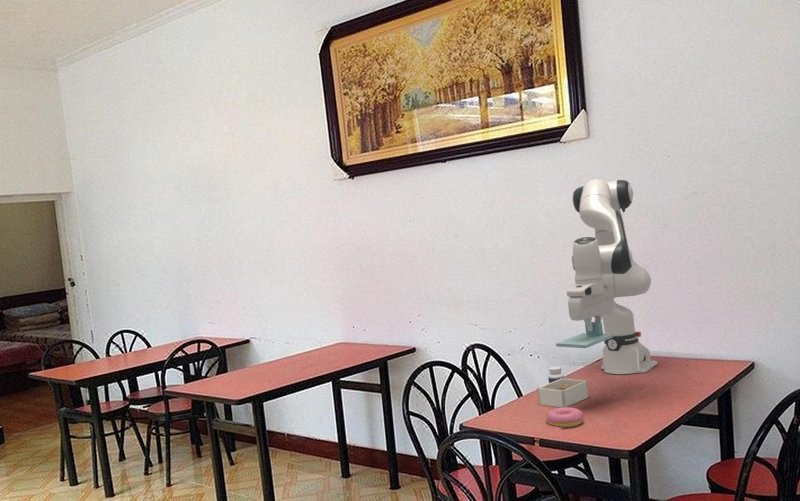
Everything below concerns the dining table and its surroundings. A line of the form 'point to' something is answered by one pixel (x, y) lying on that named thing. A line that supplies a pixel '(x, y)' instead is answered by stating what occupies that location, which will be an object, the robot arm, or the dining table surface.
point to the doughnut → (564, 417)
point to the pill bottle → (555, 374)
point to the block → (566, 387)
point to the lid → (586, 338)
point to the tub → (563, 393)
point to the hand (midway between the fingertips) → (594, 330)
